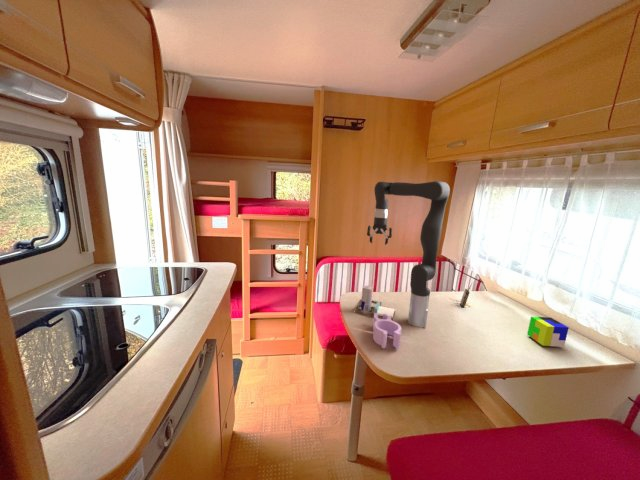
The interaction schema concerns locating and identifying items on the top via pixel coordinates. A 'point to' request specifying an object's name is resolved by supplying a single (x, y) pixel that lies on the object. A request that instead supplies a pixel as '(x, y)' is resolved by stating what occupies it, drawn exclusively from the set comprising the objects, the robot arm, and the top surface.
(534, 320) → the puzzle toy
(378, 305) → the slide cover
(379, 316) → the tan flat frame
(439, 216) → the robot arm
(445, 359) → the top surface
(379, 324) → the clip
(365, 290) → the beverage can
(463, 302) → the walkie talkie
